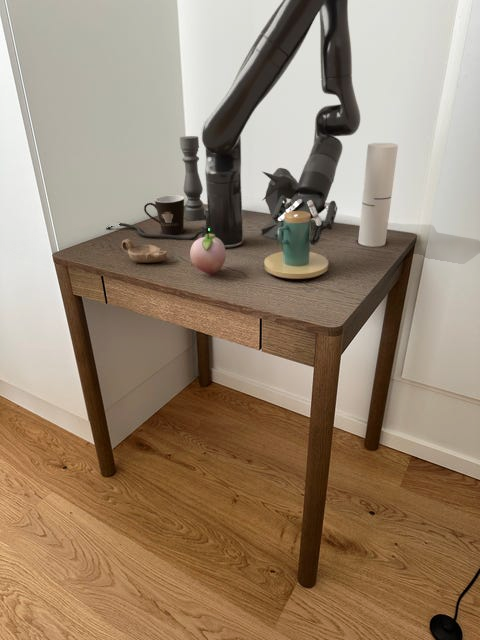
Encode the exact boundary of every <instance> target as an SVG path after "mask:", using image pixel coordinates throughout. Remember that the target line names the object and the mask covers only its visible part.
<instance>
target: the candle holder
mask: <svg viewBox="0 0 480 640" xmlns="http://www.w3.org/2000/svg"><path fill="white" fill-rule="evenodd" d="M199 141H200V140H199V136H198V135H197V136H196V135H187V136H185V135H184V136H180V137H179V146H180V150H181V153H182V155H183V157H182V159H181V161H182V162H183V164H184V168H185V175H184V183H183V192H184V195H185V196H186V199H187V200H186V202H185V206H186V207H184V213H185V219H186V220H187V221H195V222H196V221H201V220H204V219H206V214H205V206H203V205H204V202H203V201H202V199H201V195H202V193H203V190H204V187H203V184H202V181H201V178H200V175H199V170H198V169H199V168H198V161H199V160H200V157H199V156H198V152H199V148H200V142H199Z"/></svg>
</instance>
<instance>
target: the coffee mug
mask: <svg viewBox="0 0 480 640" xmlns="http://www.w3.org/2000/svg"><path fill="white" fill-rule="evenodd" d="M148 206H153V207H154V208H155V210H156V212H157V216H158V219H157V218H155V217H154V216H152V215H151V214H150V213H149V212H148V211H147V207H148ZM143 211H144V213H145V214H146V215H147V216H148V218H151V219H152V220H153V221H155V222H156V223H158V224H159V225H160V229H161V234H162V235H174V236H178V235H180V234H184V225H185V220H184V219H185V197H184V196H182V195H179V194H178V195H177V194H171V195H170V194H169V195H162V196H157V197H156V198H154V203H153V202H147V203H145V205H144V207H143Z"/></svg>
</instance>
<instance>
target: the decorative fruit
mask: <svg viewBox="0 0 480 640" xmlns="http://www.w3.org/2000/svg"><path fill="white" fill-rule="evenodd" d="M189 256H190V261H191V262H192V265H193V266H194V267H195V268H196V269H198V270H200V271H201V272H203V273H205V274H209V275H213V274H215V273H217V272H218V271H220V270H221V269H222V267H223V266H224V265H225V262H226V258H227V253H226V248H225V246H224V244H223V243H222V241H221V240H220V239H218V238H216V237H215V235H214V234H209V233H207V234H206V235H205V237H202V236H201V237H199V238H198V239H196V240H195V241H194V242H193V243H192V244H191V248H190V252H189Z"/></svg>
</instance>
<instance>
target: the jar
mask: <svg viewBox="0 0 480 640" xmlns="http://www.w3.org/2000/svg"><path fill="white" fill-rule="evenodd" d="M311 229H312V219H311V214H310V213H308V212H305V211H290V212H287V213H285V214H284V219H283V227H280V228H278V239H277V246H278V247H281V246H282V251H278V252H274V253H271V254H270V255H268V256H267V257H265V259H264V260H263V269H264V270H265V271H266V272H267V273H268V274H270V275H272V276H274V275H275V276H274V277H276V276H279V277H283V278H292V279H302V278H311V277H315V276H317V277H319V276H320V275H323V274H325V273H326V272H327V271H328V270H329V260H328V258H326V257H325V256H324V255H321V254H319V253H316V252H312V251H311V243H310V237H311V234H312V230H311ZM282 231H283V241H282ZM318 275H319V276H318ZM315 278H316V277H315Z"/></svg>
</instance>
